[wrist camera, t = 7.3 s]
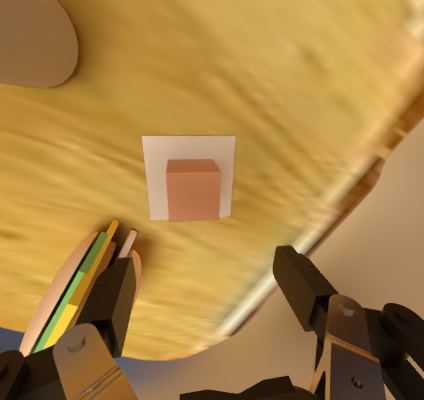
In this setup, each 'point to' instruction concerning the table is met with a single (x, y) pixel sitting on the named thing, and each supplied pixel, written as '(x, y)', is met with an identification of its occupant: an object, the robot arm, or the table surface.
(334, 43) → the table surface
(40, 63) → the can
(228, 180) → the pad
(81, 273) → the hamburger
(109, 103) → the table surface
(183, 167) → the block
